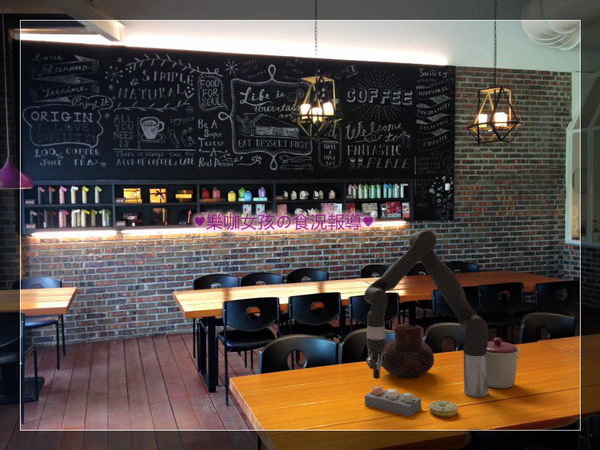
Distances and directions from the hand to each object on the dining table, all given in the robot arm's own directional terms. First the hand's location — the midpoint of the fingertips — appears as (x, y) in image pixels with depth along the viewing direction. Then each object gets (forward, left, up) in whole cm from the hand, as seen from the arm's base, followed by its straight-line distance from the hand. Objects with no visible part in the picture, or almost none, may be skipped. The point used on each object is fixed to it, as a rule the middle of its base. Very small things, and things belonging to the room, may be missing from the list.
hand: (376, 378), depth 216 cm
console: (-7, 0, -10) cm, 13 cm away
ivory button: (-7, 0, -8) cm, 11 cm away
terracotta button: (0, 0, -8) cm, 8 cm away
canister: (-32, -49, -11) cm, 60 cm away
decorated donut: (-26, -6, -11) cm, 29 cm away
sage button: (-14, 0, -8) cm, 16 cm away
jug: (+7, -38, -11) cm, 40 cm away
